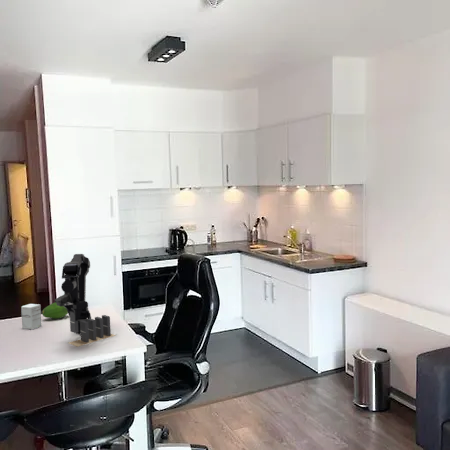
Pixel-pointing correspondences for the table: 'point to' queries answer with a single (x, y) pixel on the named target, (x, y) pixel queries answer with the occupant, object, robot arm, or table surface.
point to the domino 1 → (73, 323)
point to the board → (80, 343)
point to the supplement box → (31, 316)
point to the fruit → (54, 311)
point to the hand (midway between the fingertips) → (74, 319)
